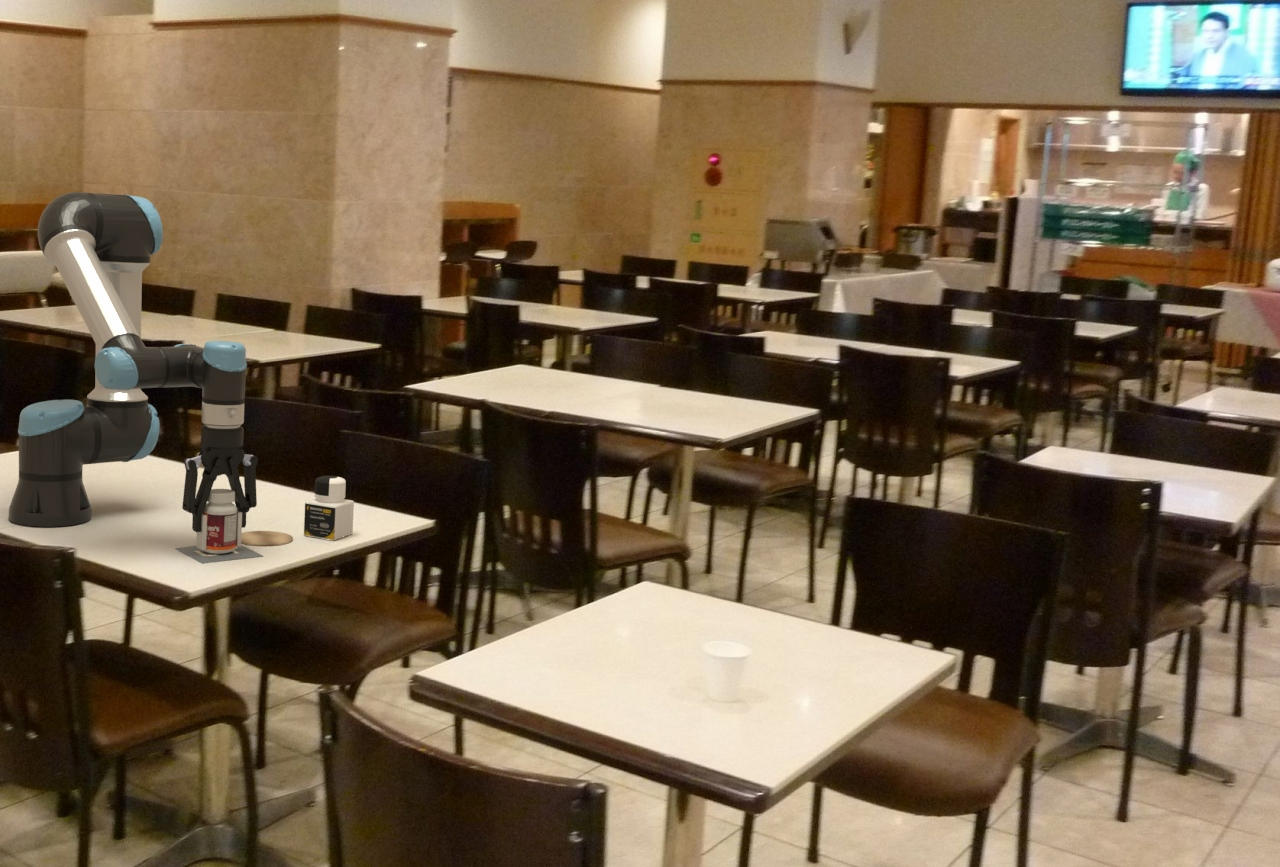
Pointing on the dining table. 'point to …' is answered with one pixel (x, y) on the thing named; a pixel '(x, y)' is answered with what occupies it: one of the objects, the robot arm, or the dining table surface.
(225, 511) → the pill bottle
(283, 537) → the coaster
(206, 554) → the tile
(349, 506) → the medicine bottle
